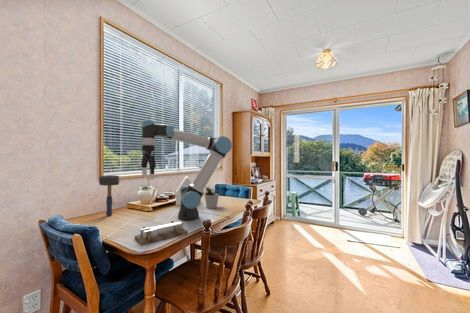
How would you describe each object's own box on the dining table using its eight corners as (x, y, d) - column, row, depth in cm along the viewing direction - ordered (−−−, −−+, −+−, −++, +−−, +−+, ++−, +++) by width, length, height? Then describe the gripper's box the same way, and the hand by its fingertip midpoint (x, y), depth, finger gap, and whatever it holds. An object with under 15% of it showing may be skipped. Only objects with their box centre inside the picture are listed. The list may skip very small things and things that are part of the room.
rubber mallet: (119, 213, 166) (119, 174, 166) (117, 216, 159) (118, 175, 159) (100, 215, 162) (101, 175, 162) (98, 217, 155) (98, 176, 155)
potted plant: (210, 205, 199) (211, 183, 199) (221, 207, 190) (222, 184, 190) (200, 207, 189) (200, 184, 189) (211, 210, 180) (211, 186, 180)
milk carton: (175, 205, 195) (176, 178, 195) (176, 202, 210) (176, 176, 210) (197, 204, 200) (197, 177, 200) (196, 201, 215) (196, 176, 215)
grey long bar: (179, 227, 132) (179, 221, 132) (184, 230, 128) (184, 223, 128) (140, 236, 117) (140, 229, 117) (143, 239, 113) (143, 232, 113)
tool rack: (179, 228, 135) (179, 219, 135) (187, 233, 126) (188, 224, 126) (134, 238, 118) (134, 228, 118) (141, 245, 109) (141, 234, 109)
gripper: (136, 145, 145) (135, 177, 145) (149, 144, 126) (148, 180, 126) (147, 145, 149) (147, 176, 150) (161, 144, 130) (161, 179, 131)
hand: (148, 178), depth 138 cm, fingers open, 13 cm apart
